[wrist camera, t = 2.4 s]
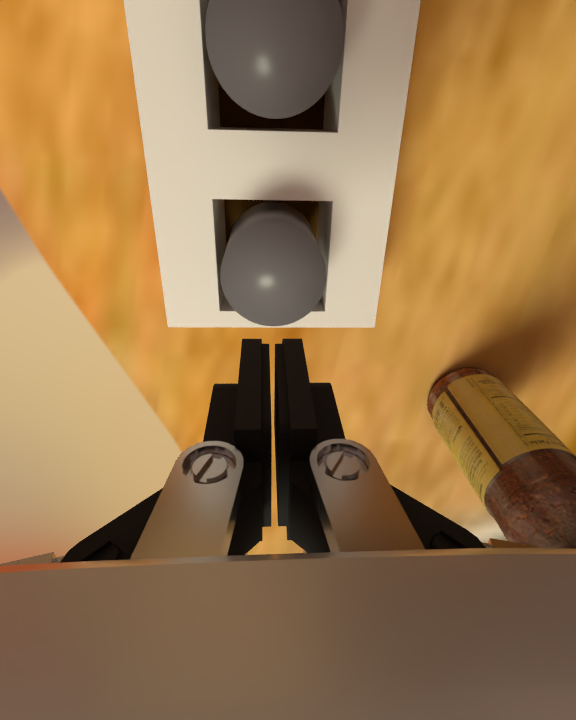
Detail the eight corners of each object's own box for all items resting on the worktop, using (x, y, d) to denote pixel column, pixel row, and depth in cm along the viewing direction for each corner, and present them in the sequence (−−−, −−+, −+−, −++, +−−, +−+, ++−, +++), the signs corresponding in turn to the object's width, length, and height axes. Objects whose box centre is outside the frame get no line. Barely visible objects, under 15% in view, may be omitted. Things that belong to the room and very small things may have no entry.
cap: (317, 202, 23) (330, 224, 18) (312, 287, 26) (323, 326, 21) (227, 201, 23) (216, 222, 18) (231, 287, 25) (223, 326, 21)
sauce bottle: (454, 435, 37) (617, 709, 20) (408, 399, 35) (546, 673, 18) (517, 387, 35) (762, 651, 17) (471, 345, 32) (701, 602, 15)
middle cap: (328, -9, 19) (350, -52, 14) (321, 119, 21) (338, 120, 16) (216, -14, 18) (199, -60, 14) (223, 117, 21) (210, 117, 16)
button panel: (424, -329, 17) (496, -531, 11) (355, 290, 30) (374, 327, 24) (117, -353, 16) (45, -580, 11) (185, 289, 29) (168, 327, 24)
